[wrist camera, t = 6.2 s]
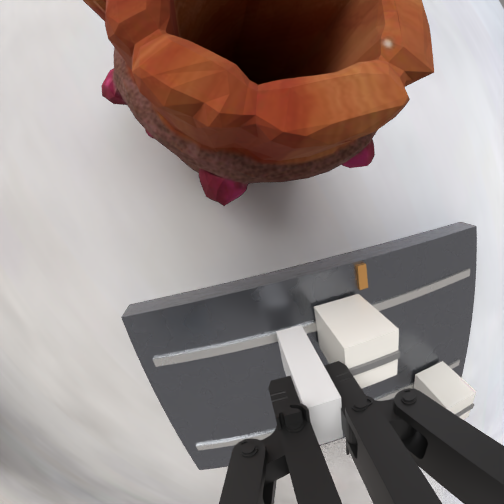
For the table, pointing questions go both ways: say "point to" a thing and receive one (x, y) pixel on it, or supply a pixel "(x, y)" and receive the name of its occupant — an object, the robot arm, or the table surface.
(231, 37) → the mug
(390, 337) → the fader near
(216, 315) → the console
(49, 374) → the table surface
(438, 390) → the fader far
